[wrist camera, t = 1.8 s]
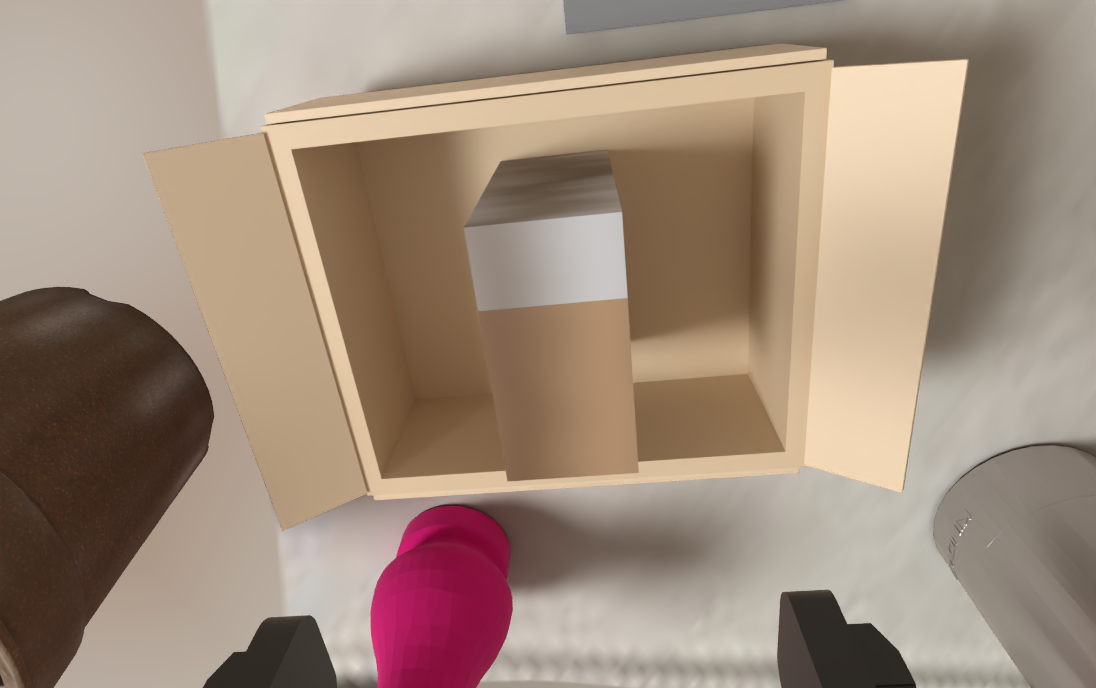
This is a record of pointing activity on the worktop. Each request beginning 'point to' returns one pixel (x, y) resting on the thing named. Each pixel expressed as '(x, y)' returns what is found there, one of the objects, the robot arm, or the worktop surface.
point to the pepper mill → (442, 602)
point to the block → (556, 316)
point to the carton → (650, 257)
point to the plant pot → (83, 462)
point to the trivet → (658, 11)
